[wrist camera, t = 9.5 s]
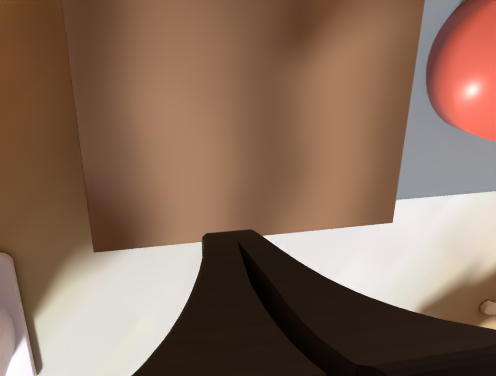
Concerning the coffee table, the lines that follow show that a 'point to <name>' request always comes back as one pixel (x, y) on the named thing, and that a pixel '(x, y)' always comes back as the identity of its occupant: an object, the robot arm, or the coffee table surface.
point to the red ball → (465, 69)
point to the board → (239, 114)
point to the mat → (440, 133)
